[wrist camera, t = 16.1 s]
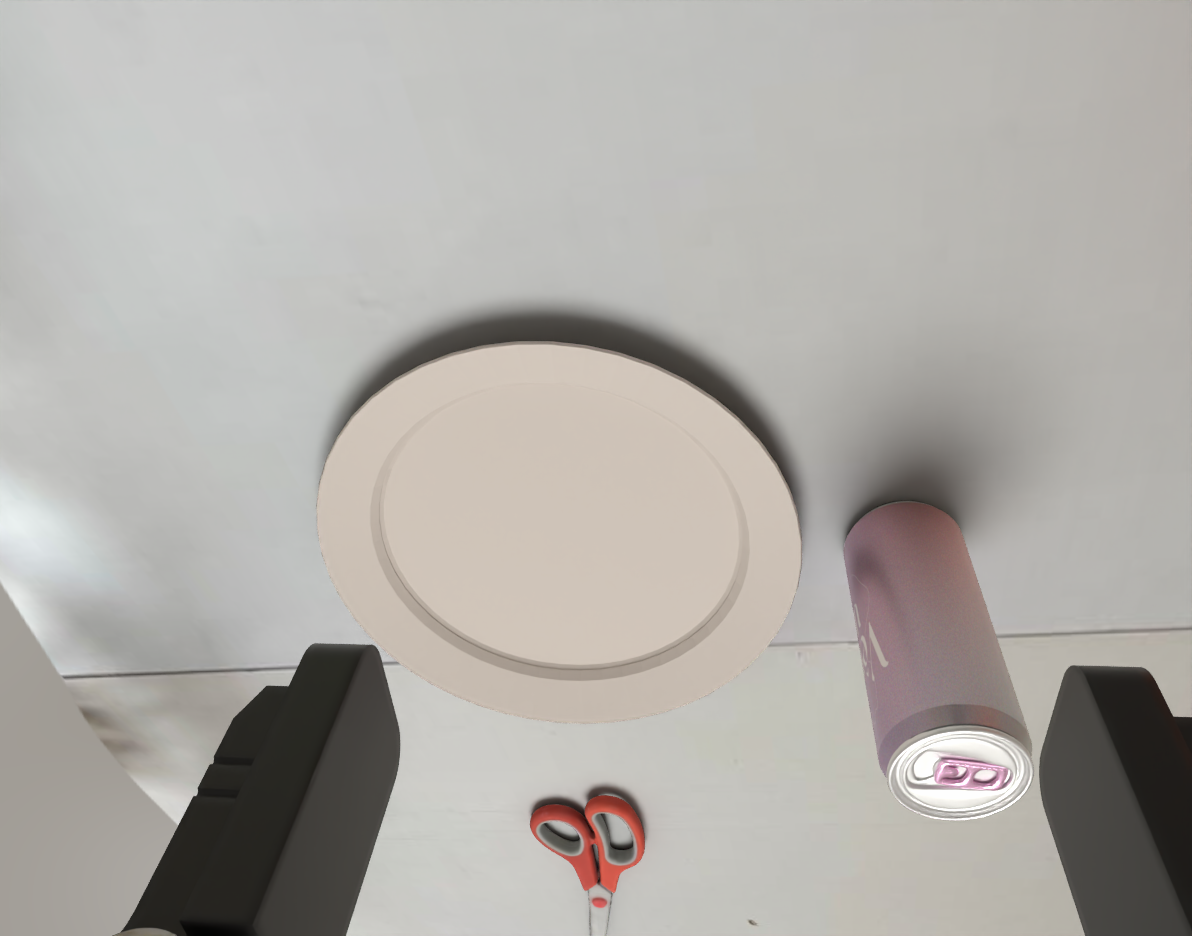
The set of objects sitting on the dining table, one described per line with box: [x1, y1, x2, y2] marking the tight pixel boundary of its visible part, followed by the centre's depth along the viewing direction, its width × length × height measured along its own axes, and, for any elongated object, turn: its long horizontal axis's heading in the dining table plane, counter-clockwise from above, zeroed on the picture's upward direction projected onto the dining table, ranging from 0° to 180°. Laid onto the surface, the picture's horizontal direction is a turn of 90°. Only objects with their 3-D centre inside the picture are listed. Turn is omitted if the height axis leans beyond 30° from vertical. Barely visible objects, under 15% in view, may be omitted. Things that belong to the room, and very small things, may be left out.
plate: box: [317, 341, 802, 724], centre depth 52 cm, size 26×26×2 cm
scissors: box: [530, 795, 645, 936], centre depth 71 cm, size 8×21×2 cm, turn 13°
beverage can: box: [844, 501, 1034, 821], centre depth 45 cm, size 6×6×15 cm
